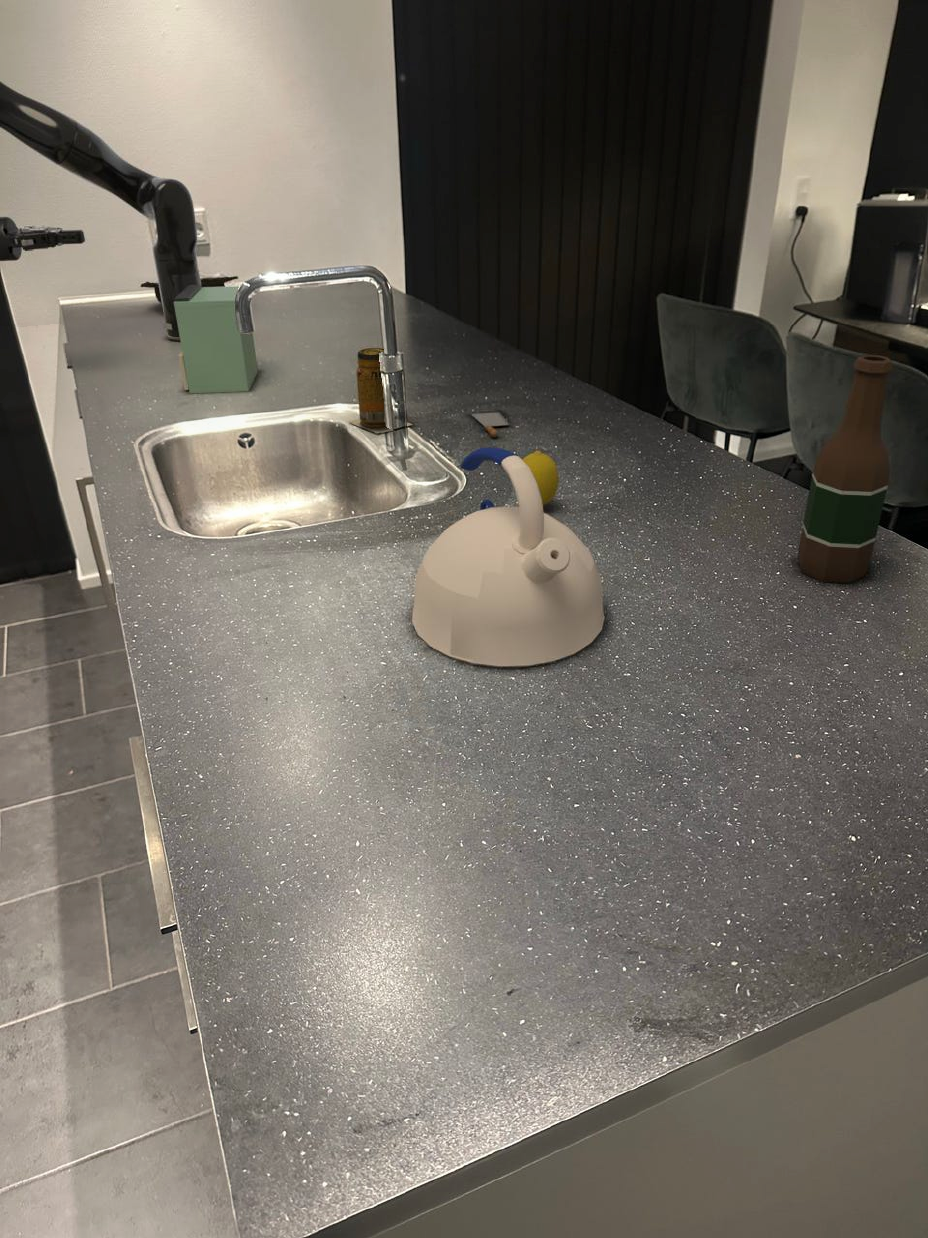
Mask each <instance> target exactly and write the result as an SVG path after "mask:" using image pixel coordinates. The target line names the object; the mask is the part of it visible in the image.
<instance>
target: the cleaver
mask: <svg viewBox="0 0 928 1238" xmlns="http://www.w3.org/2000/svg"><path fill="white" fill-rule="evenodd" d="M470 415H471V416H472V418H474V419H475V420H476V421H478V422H479V424H481V425H482V426H483V427H484V429H485V431H487V433H488V434H489V436H490V437H491V438H493V439H494V438H497V437H498V436H499V432H498V430H497V429H495V428H494V427H500V426H509V425H510V423H509V422H508V420H506V418H505V417H504V415H502V414H501V413H500V412H499V411H497V412H481V413H471V414H470Z"/></svg>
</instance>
